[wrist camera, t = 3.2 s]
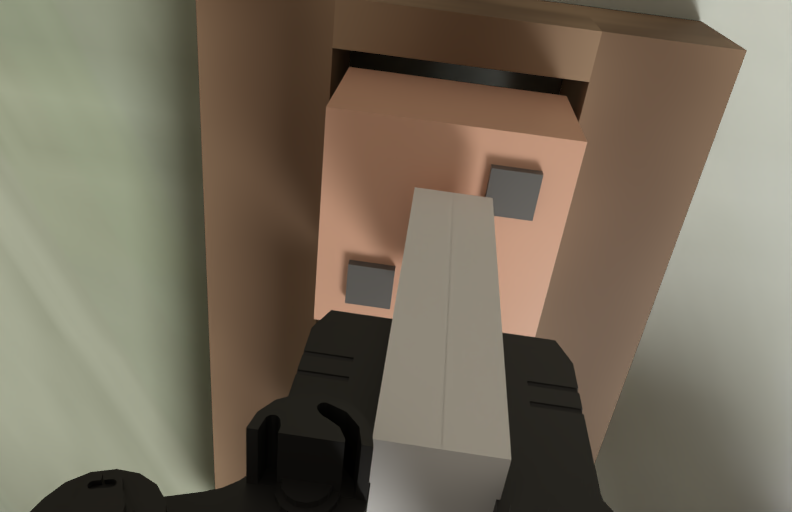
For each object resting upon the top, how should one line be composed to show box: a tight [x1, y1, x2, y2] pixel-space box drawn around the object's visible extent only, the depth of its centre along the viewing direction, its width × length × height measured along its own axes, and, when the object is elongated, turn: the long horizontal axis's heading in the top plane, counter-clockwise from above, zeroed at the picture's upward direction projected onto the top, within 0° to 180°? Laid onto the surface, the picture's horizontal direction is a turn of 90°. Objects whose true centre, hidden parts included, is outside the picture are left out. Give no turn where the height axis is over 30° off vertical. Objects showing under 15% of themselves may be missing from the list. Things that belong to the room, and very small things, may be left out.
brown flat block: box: [196, 0, 747, 489], centre depth 21 cm, size 12×22×3 cm, turn 174°
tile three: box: [314, 67, 587, 337], centre depth 15 cm, size 5×5×3 cm
